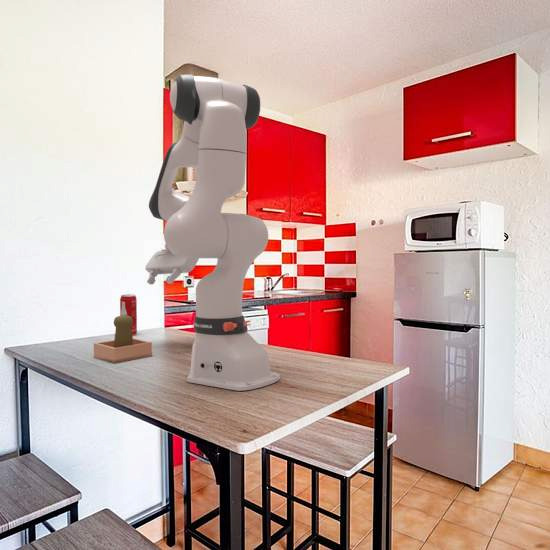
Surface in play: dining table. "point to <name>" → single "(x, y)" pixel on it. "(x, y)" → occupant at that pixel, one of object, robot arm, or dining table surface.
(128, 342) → the cork
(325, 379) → the dining table surface
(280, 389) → the dining table surface
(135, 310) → the beverage can
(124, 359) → the shallow wooden box
